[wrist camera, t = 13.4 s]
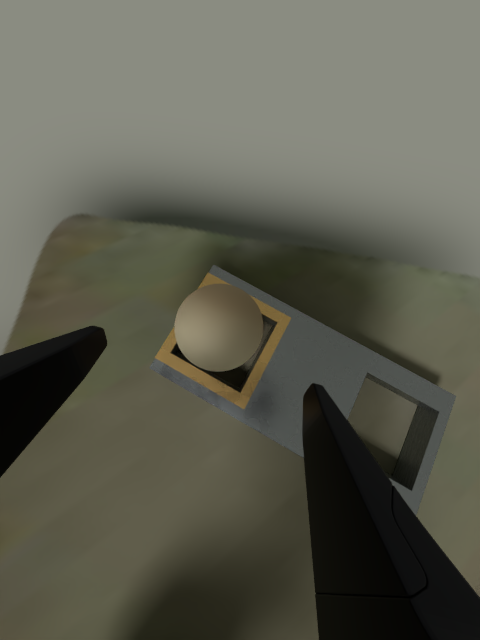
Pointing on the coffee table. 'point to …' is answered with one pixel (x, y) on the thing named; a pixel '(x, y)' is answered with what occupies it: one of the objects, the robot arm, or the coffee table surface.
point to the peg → (218, 327)
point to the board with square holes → (313, 367)
